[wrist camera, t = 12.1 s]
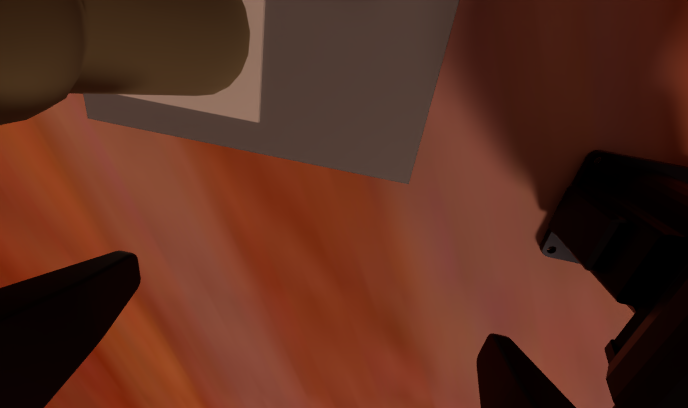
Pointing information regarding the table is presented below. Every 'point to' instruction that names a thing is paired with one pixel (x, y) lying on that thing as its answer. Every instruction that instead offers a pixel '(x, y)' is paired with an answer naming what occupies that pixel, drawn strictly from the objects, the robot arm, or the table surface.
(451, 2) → the dock step
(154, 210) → the table surface
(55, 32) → the cork
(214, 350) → the table surface
